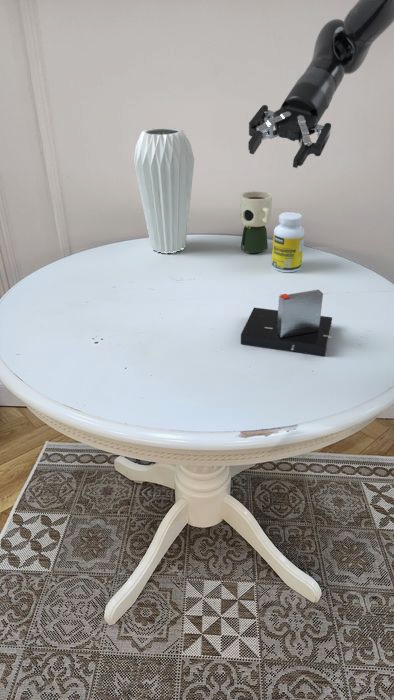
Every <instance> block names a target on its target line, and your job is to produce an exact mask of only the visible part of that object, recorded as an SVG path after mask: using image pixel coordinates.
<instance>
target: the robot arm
mask: <svg viewBox="0 0 394 700" xmlns="http://www.w3.org/2000/svg"><path fill="white" fill-rule="evenodd" d="M393 23H394V0H358V1H357V2H356V3H355V4H354V6H353V7H351V9H350V10H349V11H348V13H347V14H346V16H345V17H344V20H342V19H340V18H335V19H331V20H329V21H328V22H326V23H325V24H324V25H323V26H322V28H321V30H320V31H319V32H318V34H317V37H316V40H315V44H314V48H313V52H312V57H311V61H310V63H309V65H308V66H307V68H306V69H305V71H304V72H303V73H302V75H300V77H299V78H298V79H297V81H296V82H295V83H294V85H293V87H292V88H291V89H290V92H288V95H286V97H285V99H284V101H283V102H282V104H281V106H280V108H279V109H277V110H275V111H272V110H269V106H268V105H267V104H263V105H261V106H260V107H259V109H258V111H256V113H255V114H254V116H253V117H252V118H251V119H250V121H249V122H248V136H249V137H251V138H249V140H248V145H247V147H248V148H247V150H248V151H249V154H250V155H255V153H256V152H257V150H258V149H259V147H260V145H261V144H262V141H265V140H267V139H270V140H272V139H274V138H277V137H278V138H282V139H287V140H289V141H292V142H296V141H298V142H297V143H298V145H299V149H298V151H297V152H296V154H295V155H294V157H293V162H292V168H295V169H298V167H301V166H303V165H304V163H305V161H306V160H307V158H308V156H310V155H314V156H315V157H320V156H321V155H322V154H323V151H324V149H325V147H326V145H327V143H328V140H329V138H330V136H331V130H332V123H330V122H326V123H324V125H323V124H319V122H320V120H321V119H322V117H323V116H324V114H325V112H326V111H327V110H328V109H329V106H330V103H331V102H332V100H333V97H334V95H335V94H336V92H337V89H338V88H339V86H340V85H341V83H342V81H343V79H344V76H345V75H346V76H347V75H351V74H354V73H355V72H357V71H358V70H359V69H360V68H361V66H362V65H363V64H364V62H365V60H366V58H367V56H368V54H369V52H370V49H371V47H372V45H373V43H374V42H375V41H376V40H377V39H378V38H379V37H380V36H381V35H382V34H383V33H385V32H386V30H388V28H390V27H391V25H393ZM315 133H317V134H316V136H317V139H316V141H315V142H312V140H311V137H310V136H311V135H314V134H315Z"/></svg>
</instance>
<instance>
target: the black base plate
mask: <svg viewBox="0 0 394 700" xmlns="http://www.w3.org/2000/svg"><path fill="white" fill-rule="evenodd" d="M277 321H278V309H269V308H261V307H255V306H254V307H253V309H252V310H251V312H250V315H249V316H248V319H247V320H246V323H245V325H244V326H243V329H242V331H241V333H240V345H245V346H251V347H257V348H264V349H271V350H278V351H284V352H285V351H286V352H292V353H299V354H305V355H313V356H320V357H326V353H327V348H328V343H329V339H332V338H333V335H331V330H332V324H333V317H331V316H326V315H325V316H324V315H321V316H320V325H319V331H317V332H311V333H306V334H300V335H295V336H289V337H284V338H280V337H279V336H278V335H277Z"/></svg>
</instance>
